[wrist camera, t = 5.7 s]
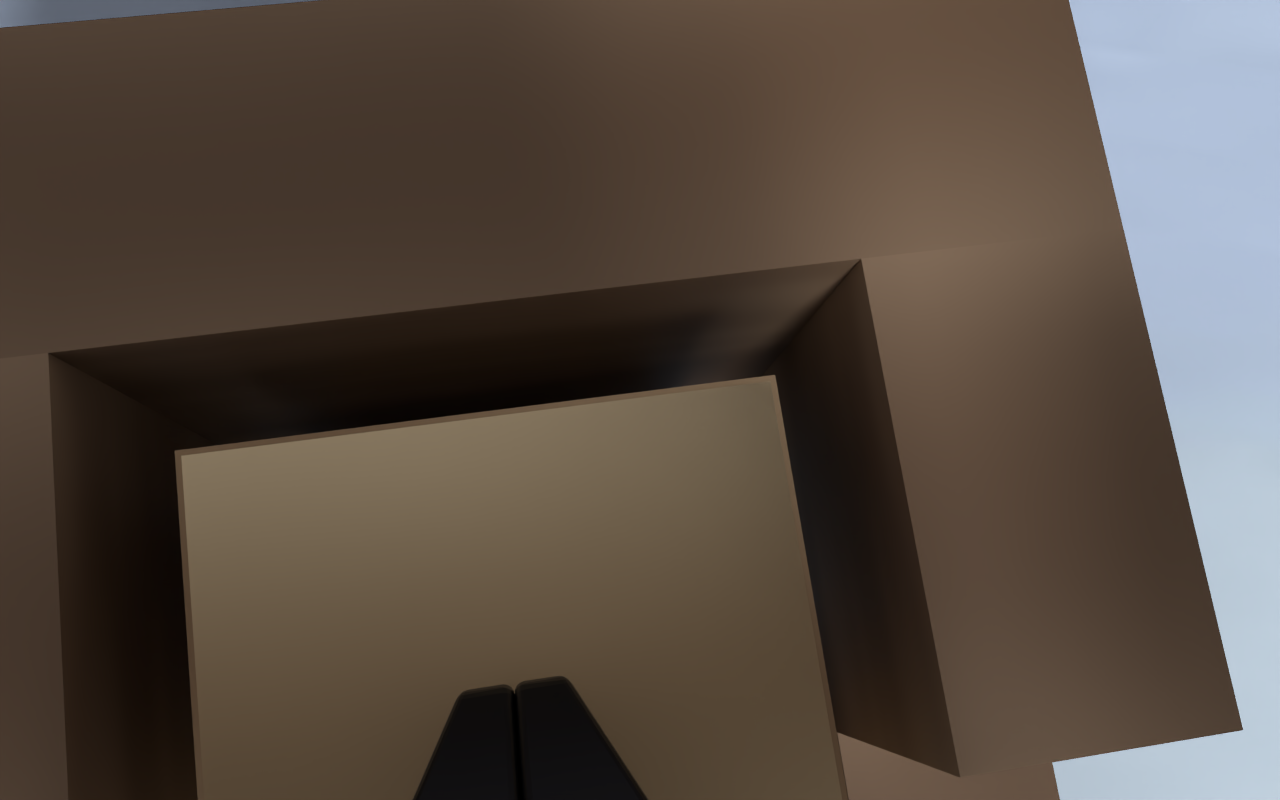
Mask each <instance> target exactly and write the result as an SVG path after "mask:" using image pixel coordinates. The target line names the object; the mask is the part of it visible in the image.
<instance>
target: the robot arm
mask: <svg viewBox="0 0 1280 800" xmlns="http://www.w3.org/2000/svg"><path fill="white" fill-rule="evenodd" d="M412 800H648V798H647V797H646V795H645V794H644V792H643V791H642V789H641V787H640V786H639V784H638V783H637V781H636V780H635V778H634V777H633V775H632V774H631V772H630V771H629V769H628V768H627V766H626V765H625V763H624V762H623V760H622V759H621V757H620V756H619V754H618V752H617V751H616V749H615V748H614V746H613V745H612V743H611V742H610V740H609V739H608V737H607V736H606V734H605V733H604V731H603V730H602V728H601V727H600V725H599V724H598V722H597V721H596V719H595V717H594V716H593V714H592V713H591V711H590V710H589V708H588V707H587V705H586V704H585V702H584V701H583V699H582V698H581V696H580V695H579V693H578V692H577V690H576V689H575V687H574V685H573V684H572V683H571V682H570V681H569V680H568V679H567V678H566V677H564V676H553V677H547V678H540V679H534V680H527V681H522V682H520V683H519V684H518V685H517V686H516V688H515V694H514V690H513V689H512V688H511V687H510V686H508V685H506V684H501V685H495V686H488V687H482V688H475V689H469V690H466V691H463V692H462V693H461V694H460V695H459V696H458V697H457V699H456V701H455V703H454V705H453V707H452V709H451V712H450V714H449V716H448V719H447V721H446V723H445V726H444V728H443V730H442V732H441V735H440V737H439V739H438V742H437V744H436V746H435V749H434V751H433V753H432V756H431V758H430V760H429V762H428V765H427V767H426V769H425V772H424V774H423V776H422V779H421V781H420V783H419V786H418V788H417V790H416V792H415V795H414V797H413V799H412Z"/></svg>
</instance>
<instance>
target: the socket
mask: <svg viewBox="0 0 1280 800" xmlns="http://www.w3.org/2000/svg"><path fill="white" fill-rule="evenodd" d="M770 375H775V377H776V383H777V388H778V394H779V400H780V406H781V412H782V417H783V423H784V429H785V435H786V441H787V447H788V452H789V458H790V464H791V470H792V476H793V481H794V487H795V493H796V499H797V505H798V510H799V516H800V522H801V528H802V534H803V540H804V545H805V551H806V557H807V563H808V569H809V574H810V580H811V586H812V592H813V598H814V603H815V609H816V615H817V621H818V627H819V633H820V638H821V644H822V650H823V656H824V662H825V667H826V673H827V679H828V685H829V691H830V697H831V702H832V708H833V714H834V720H835V726H836V731H837V737H838V743H839V749H840V755H841V760H842V766H843V772H844V778H845V784H846V790H847V795H848V800H1060V799H1059V794H1058V789H1057V784H1056V779H1055V774H1054V770H1053V765H1052V762H1056V761H1062V760H1068V759H1074V758H1080V757H1086V756H1092V755H1098V754H1104V753H1110V752H1116V751H1122V750H1127V749H1133V748H1139V747H1145V746H1151V745H1157V744H1163V743H1169V742H1175V741H1181V740H1187V739H1193V738H1199V737H1204V736H1210V735H1216V734H1222V733H1228V732H1234V731H1240V730H1243V728H1242V724H1241V720H1240V715H1239V711H1238V707H1237V703H1236V699H1235V695H1234V690H1233V686H1232V682H1231V678H1230V674H1229V669H1228V665H1227V661H1226V657H1225V653H1224V648H1223V644H1222V640H1221V636H1220V632H1219V628H1218V623H1217V619H1216V615H1215V611H1214V607H1213V602H1212V598H1211V594H1210V590H1209V586H1208V582H1207V577H1206V573H1205V569H1204V565H1203V561H1202V556H1201V552H1200V548H1199V544H1198V540H1197V535H1196V531H1195V527H1194V523H1193V519H1192V515H1191V510H1190V506H1189V502H1188V498H1187V494H1186V489H1185V485H1184V481H1183V477H1182V473H1181V469H1180V464H1179V460H1178V456H1177V452H1176V448H1175V443H1174V439H1173V435H1172V431H1171V427H1170V422H1169V418H1168V414H1167V410H1166V406H1165V402H1164V397H1163V393H1162V389H1161V385H1160V381H1159V376H1158V372H1157V368H1156V364H1155V360H1154V356H1153V351H1152V347H1151V343H1150V339H1149V335H1148V330H1147V326H1146V322H1145V318H1144V314H1143V309H1142V305H1141V301H1140V297H1139V293H1138V289H1137V284H1136V280H1135V276H1134V272H1133V268H1132V263H1131V259H1130V255H1129V251H1128V247H1127V243H1126V238H1125V234H1124V230H1123V226H1122V222H1121V217H1120V213H1119V209H1118V205H1117V201H1116V197H1115V192H1114V188H1113V184H1112V180H1111V176H1110V171H1109V167H1108V163H1107V159H1106V155H1105V150H1104V146H1103V142H1102V138H1101V134H1100V130H1099V125H1098V121H1097V117H1096V113H1095V109H1094V104H1093V100H1092V96H1091V92H1090V88H1089V84H1088V79H1087V75H1086V71H1085V67H1084V63H1083V58H1082V54H1081V50H1080V46H1079V42H1078V37H1077V33H1076V29H1075V25H1074V21H1073V17H1072V12H1071V8H1070V4H1069V0H319V1H308V2H296V3H284V4H273V5H261V6H250V7H238V8H226V9H215V10H203V11H191V12H180V13H168V14H156V15H145V16H133V17H121V18H110V19H98V20H87V21H75V22H63V23H52V24H40V25H28V26H17V27H5V28H0V800H198V797H197V781H196V766H195V751H194V736H193V721H192V706H191V691H190V676H189V661H188V645H187V630H186V615H185V600H184V585H183V570H182V555H181V540H180V525H179V510H178V494H177V479H176V464H175V451H176V450H184V449H192V448H200V447H208V446H216V445H224V444H231V443H239V442H247V441H255V440H263V439H271V438H279V437H287V436H295V435H303V434H311V433H319V432H326V431H334V430H342V429H350V428H358V427H366V426H374V425H382V424H390V423H398V422H406V421H413V420H421V419H429V418H437V417H445V416H453V415H461V414H469V413H477V412H485V411H493V410H501V409H508V408H516V407H524V406H532V405H540V404H548V403H556V402H564V401H572V400H580V399H588V398H595V397H603V396H611V395H619V394H627V393H635V392H643V391H651V390H659V389H667V388H675V387H683V386H690V385H698V384H706V383H714V382H722V381H730V380H738V379H746V378H754V377H762V376H770Z"/></svg>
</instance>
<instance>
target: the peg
mask: <svg viewBox="0 0 1280 800" xmlns="http://www.w3.org/2000/svg"><path fill="white" fill-rule="evenodd" d="M175 464H176V479H177V494H178V510H179V525H180V540H181V555H182V570H183V585H184V600H185V615H186V630H187V645H188V661H189V676H190V691H191V706H192V721H193V736H194V751H195V766H196V781H197V797H198V800H412V799H413V797H414V795H415V792H416V790H417V788H418V786H419V783H420V781H421V779H422V776H423V774H424V772H425V769H426V767H427V765H428V762H429V760H430V758H431V756H432V753H433V751H434V749H435V746H436V744H437V742H438V739H439V737H440V735H441V732H442V730H443V728H444V726H445V723H446V721H447V719H448V716H449V714H450V712H451V709H452V707H453V705H454V703H455V701H456V699H457V697H458V696H459V695H460V694H461V693H462V692H463V691H466V690H469V689H475V688H482V687H488V686H495V685H501V684H506V685H508V686H510V687H511V688H512V689H513V690H514V694H515V688H516V686H517V685H518V684H519V683H520V682H522V681H527V680H534V679H540V678H547V677H553V676H564V677H566V678H567V679H568V680H569V681H570V682H571V683H572V684H573V685H574V687H575V689H576V690H577V692H578V693H579V695H580V696H581V698H582V699H583V701H584V702H585V704H586V705H587V707H588V708H589V710H590V711H591V713H592V714H593V716H594V717H595V719H596V721H597V722H598V724H599V725H600V727H601V728H602V730H603V731H604V733H605V734H606V736H607V737H608V739H609V740H610V742H611V743H612V745H613V746H614V748H615V749H616V751H617V752H618V754H619V756H620V757H621V759H622V760H623V762H624V763H625V765H626V766H627V768H628V769H629V771H630V772H631V774H632V775H633V777H634V778H635V780H636V781H637V783H638V784H639V786H640V787H641V789H642V791H643V792H644V794H645V795H646V797H647V798H648V800H848V795H847V790H846V784H845V778H844V772H843V766H842V760H841V755H840V749H839V743H838V737H837V731H836V726H835V720H834V714H833V708H832V702H831V697H830V691H829V685H828V679H827V673H826V667H825V662H824V656H823V650H822V644H821V638H820V633H819V627H818V621H817V615H816V609H815V603H814V598H813V592H812V586H811V580H810V574H809V569H808V563H807V557H806V551H805V545H804V540H803V534H802V528H801V522H800V516H799V510H798V505H797V499H796V493H795V487H794V481H793V476H792V470H791V464H790V458H789V452H788V447H787V441H786V435H785V429H784V423H783V417H782V412H781V406H780V400H779V394H778V388H777V383H776V377H775V375H770V376H762V377H754V378H746V379H738V380H730V381H722V382H714V383H706V384H698V385H690V386H683V387H675V388H667V389H659V390H651V391H643V392H635V393H627V394H619V395H611V396H603V397H595V398H588V399H580V400H572V401H564V402H556V403H548V404H540V405H532V406H524V407H516V408H508V409H501V410H493V411H485V412H477V413H469V414H461V415H453V416H445V417H437V418H429V419H421V420H413V421H406V422H398V423H390V424H382V425H374V426H366V427H358V428H350V429H342V430H334V431H326V432H319V433H311V434H303V435H295V436H287V437H279V438H271V439H263V440H255V441H247V442H239V443H231V444H224V445H216V446H208V447H200V448H192V449H184V450H176V451H175Z"/></svg>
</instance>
